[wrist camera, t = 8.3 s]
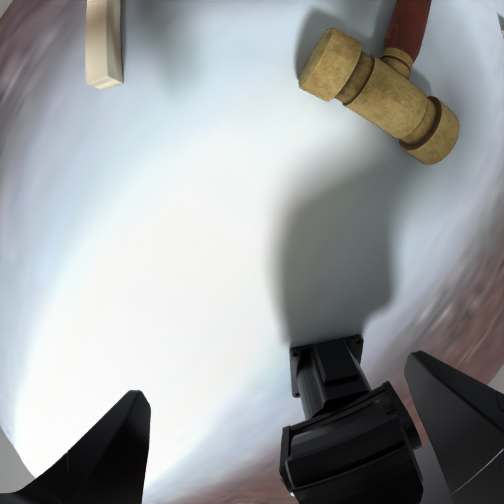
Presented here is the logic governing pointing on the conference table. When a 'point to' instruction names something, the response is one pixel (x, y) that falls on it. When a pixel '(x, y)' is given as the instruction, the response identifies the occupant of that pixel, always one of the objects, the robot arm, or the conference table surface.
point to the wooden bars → (104, 44)
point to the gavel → (385, 84)
